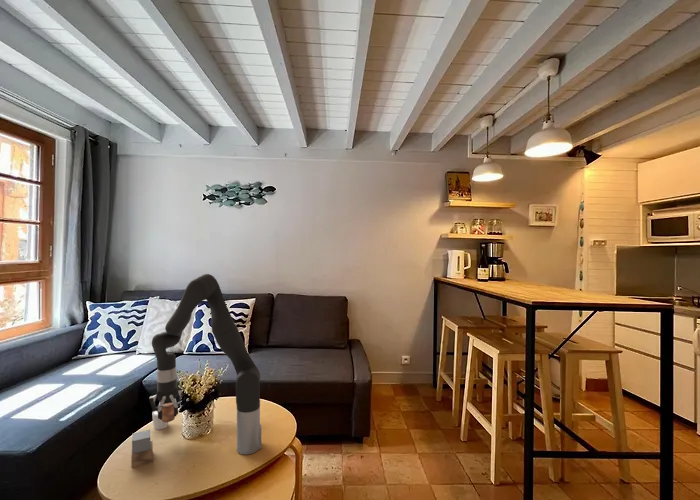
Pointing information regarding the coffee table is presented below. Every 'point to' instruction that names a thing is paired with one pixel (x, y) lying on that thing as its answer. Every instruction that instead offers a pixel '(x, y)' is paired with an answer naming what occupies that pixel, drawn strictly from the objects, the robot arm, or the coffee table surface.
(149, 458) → the tower base
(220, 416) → the coffee table surface
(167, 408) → the brown rounded knob
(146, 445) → the tower top
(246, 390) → the robot arm
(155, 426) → the white cylinder
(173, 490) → the coffee table surface
